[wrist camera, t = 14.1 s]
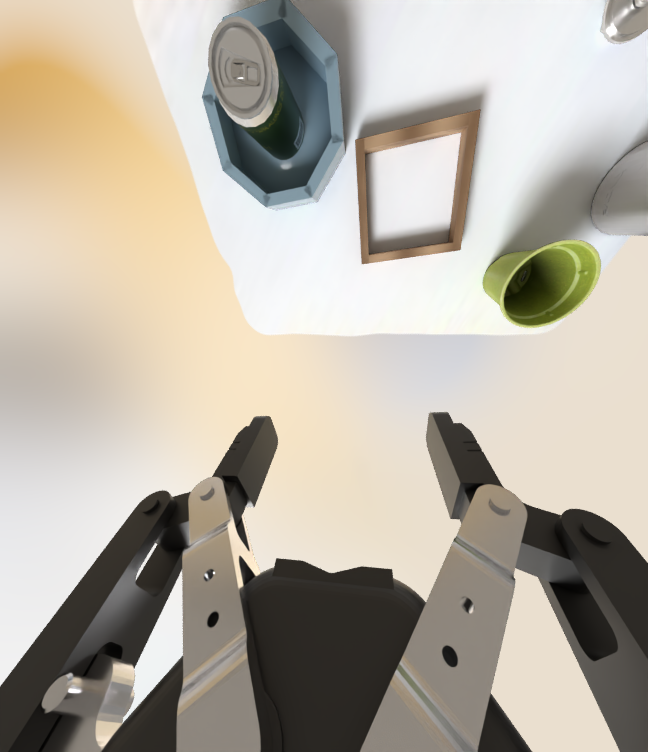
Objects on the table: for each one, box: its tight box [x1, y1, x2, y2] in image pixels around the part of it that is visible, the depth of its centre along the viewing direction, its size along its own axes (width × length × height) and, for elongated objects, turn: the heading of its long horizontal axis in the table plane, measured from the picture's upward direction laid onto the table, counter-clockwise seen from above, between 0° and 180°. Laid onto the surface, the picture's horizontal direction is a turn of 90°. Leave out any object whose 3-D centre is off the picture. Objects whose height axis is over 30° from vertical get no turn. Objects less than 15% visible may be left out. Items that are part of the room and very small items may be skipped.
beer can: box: [208, 16, 304, 160], centre depth 22 cm, size 5×5×12 cm
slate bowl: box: [202, 0, 345, 210], centre depth 26 cm, size 14×14×4 cm
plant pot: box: [483, 240, 601, 328], centre depth 29 cm, size 9×9×9 cm
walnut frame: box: [355, 109, 481, 264], centre depth 29 cm, size 13×13×2 cm
